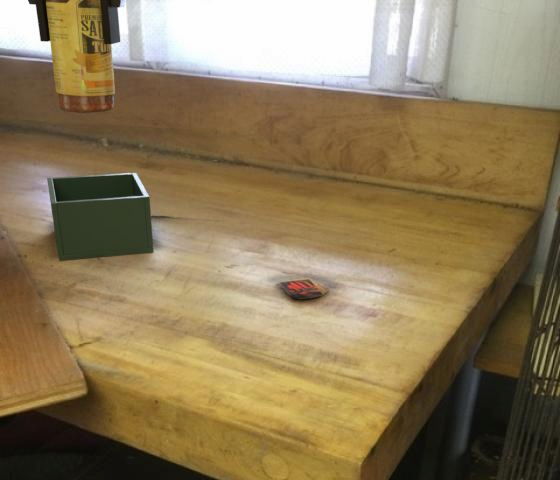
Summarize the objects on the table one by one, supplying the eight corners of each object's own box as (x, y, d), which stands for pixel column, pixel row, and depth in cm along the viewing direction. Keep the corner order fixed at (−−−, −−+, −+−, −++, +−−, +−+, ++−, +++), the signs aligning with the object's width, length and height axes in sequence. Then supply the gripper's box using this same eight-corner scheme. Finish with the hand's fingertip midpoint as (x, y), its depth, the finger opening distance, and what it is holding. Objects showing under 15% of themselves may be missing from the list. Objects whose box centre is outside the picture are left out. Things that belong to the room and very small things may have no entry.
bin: (59, 260, 79) (50, 203, 76) (54, 230, 88) (47, 177, 84) (153, 252, 82) (149, 196, 79) (140, 223, 91) (136, 172, 87)
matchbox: (299, 303, 70) (299, 299, 70) (270, 286, 74) (270, 282, 73) (335, 293, 73) (335, 289, 72) (305, 277, 76) (305, 273, 76)
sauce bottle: (98, 117, 74) (75, -111, 64) (46, 112, 75) (16, -111, 65) (127, 107, 79) (110, -105, 69) (79, 103, 81) (55, -105, 70)
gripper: (-76, -256, 60) (-23, 41, 72) (139, -258, 57) (158, 49, 69) (-30, -234, 66) (12, 35, 78) (166, -236, 64) (179, 42, 76)
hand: (80, 41), depth 74 cm, fingers closed on sauce bottle, 6 cm apart
